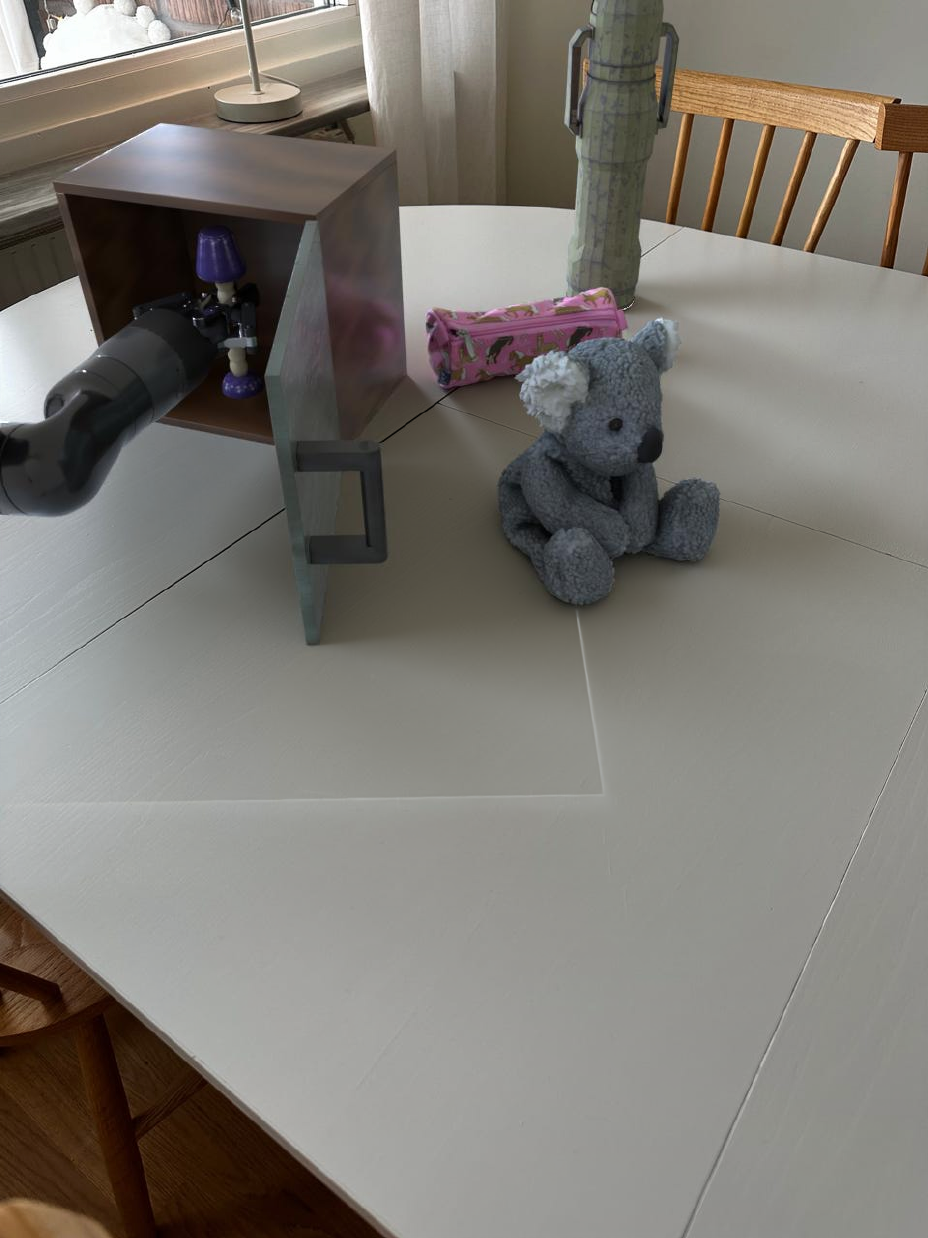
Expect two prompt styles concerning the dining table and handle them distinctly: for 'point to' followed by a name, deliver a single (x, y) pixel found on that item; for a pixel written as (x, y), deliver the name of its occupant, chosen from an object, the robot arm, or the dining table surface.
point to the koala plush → (601, 467)
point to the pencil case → (516, 335)
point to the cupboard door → (317, 441)
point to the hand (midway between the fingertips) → (243, 290)
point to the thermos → (615, 139)
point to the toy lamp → (223, 267)
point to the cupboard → (247, 252)
